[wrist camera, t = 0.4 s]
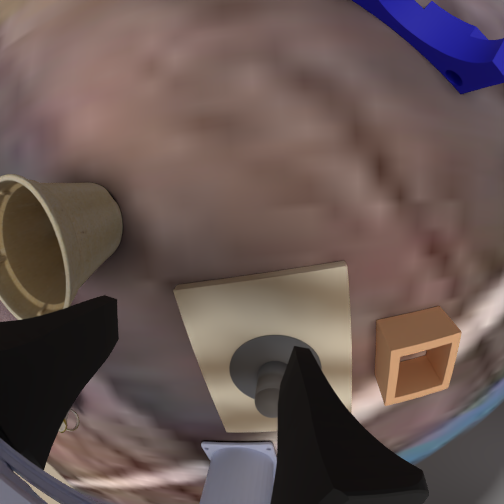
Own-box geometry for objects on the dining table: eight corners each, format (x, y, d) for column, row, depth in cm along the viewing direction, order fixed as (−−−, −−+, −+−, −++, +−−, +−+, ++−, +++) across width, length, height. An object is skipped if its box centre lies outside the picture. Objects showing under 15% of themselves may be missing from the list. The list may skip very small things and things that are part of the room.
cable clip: (480, 62, 13) (524, 46, 7) (459, 94, 14) (508, 81, 9) (359, -37, 12) (376, -80, 6) (330, -12, 13) (341, -59, 8)
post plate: (349, 414, 24) (356, 459, 18) (228, 425, 26) (218, 467, 20) (344, 260, 19) (363, 297, 14) (177, 284, 21) (147, 322, 16)
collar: (431, 359, 21) (447, 387, 17) (374, 373, 22) (384, 406, 18) (439, 305, 19) (461, 332, 16) (376, 319, 20) (391, 350, 16)
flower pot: (161, 262, 21) (97, 321, 13) (78, 288, 23) (15, 336, 14) (119, 142, 18) (32, 142, 10) (41, 190, 20) (-34, 211, 12)
